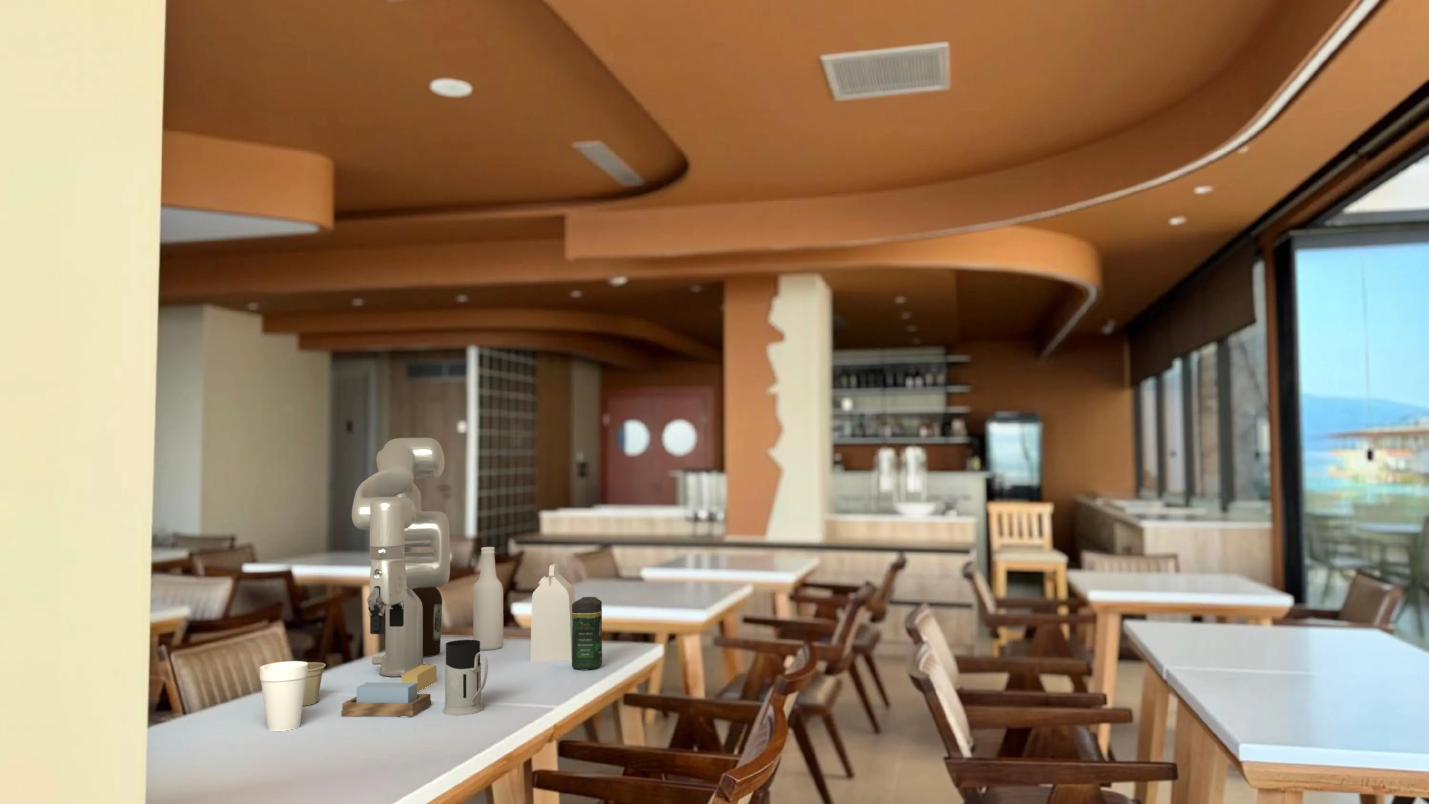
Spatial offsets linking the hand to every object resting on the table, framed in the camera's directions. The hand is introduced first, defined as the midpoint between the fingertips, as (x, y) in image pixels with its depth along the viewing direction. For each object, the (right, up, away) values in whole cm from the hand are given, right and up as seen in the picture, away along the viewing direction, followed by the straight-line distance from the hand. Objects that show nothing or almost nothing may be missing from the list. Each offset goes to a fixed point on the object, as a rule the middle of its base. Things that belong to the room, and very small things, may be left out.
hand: (387, 629), depth 227 cm
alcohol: (+6, -23, +74) cm, 78 cm away
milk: (+28, -21, +59) cm, 69 cm away
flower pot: (-22, -19, +7) cm, 30 cm away
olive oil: (-11, -22, +66) cm, 71 cm away
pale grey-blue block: (0, -17, -1) cm, 17 cm away
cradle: (0, -18, -1) cm, 18 cm away
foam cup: (-17, -18, -14) cm, 29 cm away
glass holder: (+20, -18, -4) cm, 27 cm away
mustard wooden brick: (+1, -20, +23) cm, 30 cm away
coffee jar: (+40, -20, +43) cm, 62 cm away
